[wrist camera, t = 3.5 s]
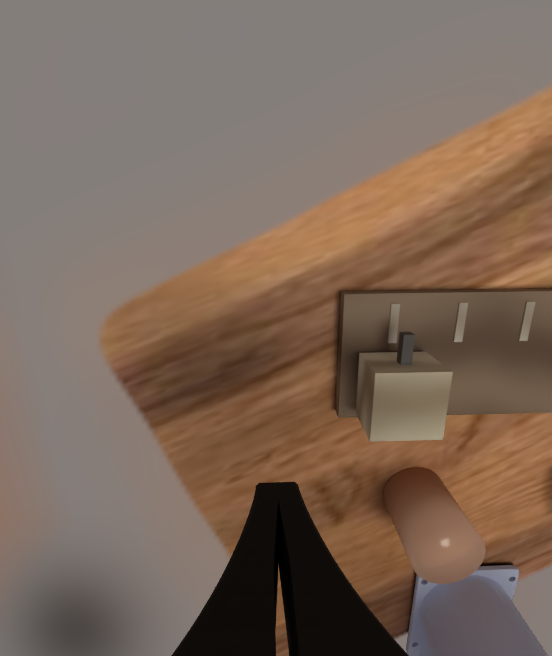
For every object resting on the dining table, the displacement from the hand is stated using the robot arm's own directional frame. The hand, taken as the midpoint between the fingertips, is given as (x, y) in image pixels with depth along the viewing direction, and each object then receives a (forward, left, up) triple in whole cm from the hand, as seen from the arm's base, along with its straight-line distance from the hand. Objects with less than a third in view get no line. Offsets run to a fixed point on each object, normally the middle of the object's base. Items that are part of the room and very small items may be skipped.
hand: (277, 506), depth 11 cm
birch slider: (+1, -7, -9) cm, 12 cm away
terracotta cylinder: (-9, -10, -11) cm, 17 cm away
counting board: (+2, -15, -11) cm, 19 cm away
